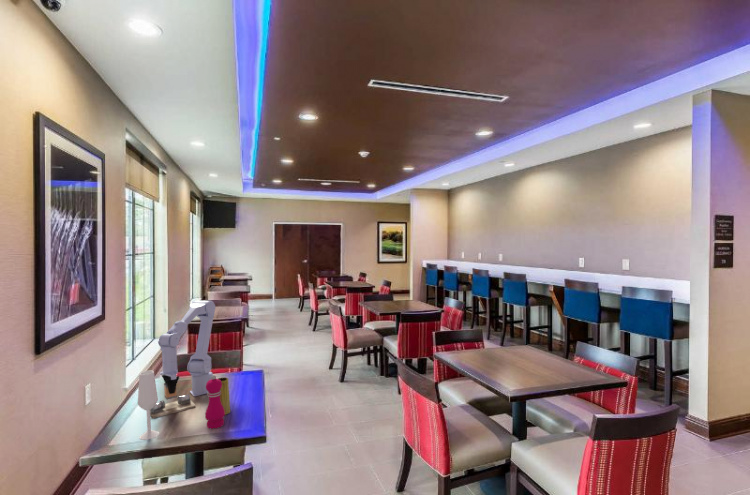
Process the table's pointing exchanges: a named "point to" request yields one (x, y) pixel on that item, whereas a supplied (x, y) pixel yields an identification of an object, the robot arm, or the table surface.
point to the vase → (225, 395)
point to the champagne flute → (147, 400)
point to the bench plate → (173, 408)
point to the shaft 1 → (158, 407)
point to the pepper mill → (214, 404)
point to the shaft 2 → (184, 399)
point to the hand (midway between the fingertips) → (170, 391)
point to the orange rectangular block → (167, 395)
